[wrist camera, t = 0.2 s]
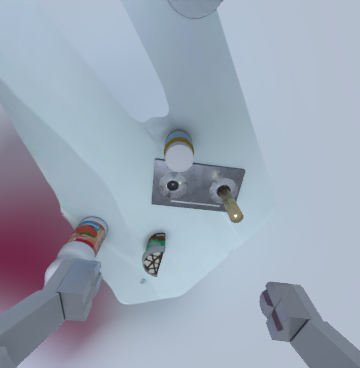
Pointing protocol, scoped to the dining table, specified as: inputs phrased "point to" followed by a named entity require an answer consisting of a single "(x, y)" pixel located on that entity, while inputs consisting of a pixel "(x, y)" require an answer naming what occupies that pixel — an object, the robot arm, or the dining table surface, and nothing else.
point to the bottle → (179, 151)
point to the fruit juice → (81, 243)
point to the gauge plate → (198, 188)
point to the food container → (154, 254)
